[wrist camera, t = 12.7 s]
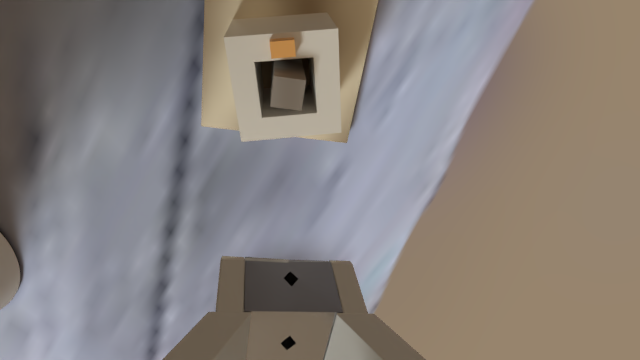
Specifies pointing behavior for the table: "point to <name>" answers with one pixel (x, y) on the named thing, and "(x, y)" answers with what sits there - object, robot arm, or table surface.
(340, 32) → the shaft block
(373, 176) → the table surface
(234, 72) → the beige hollow cube
